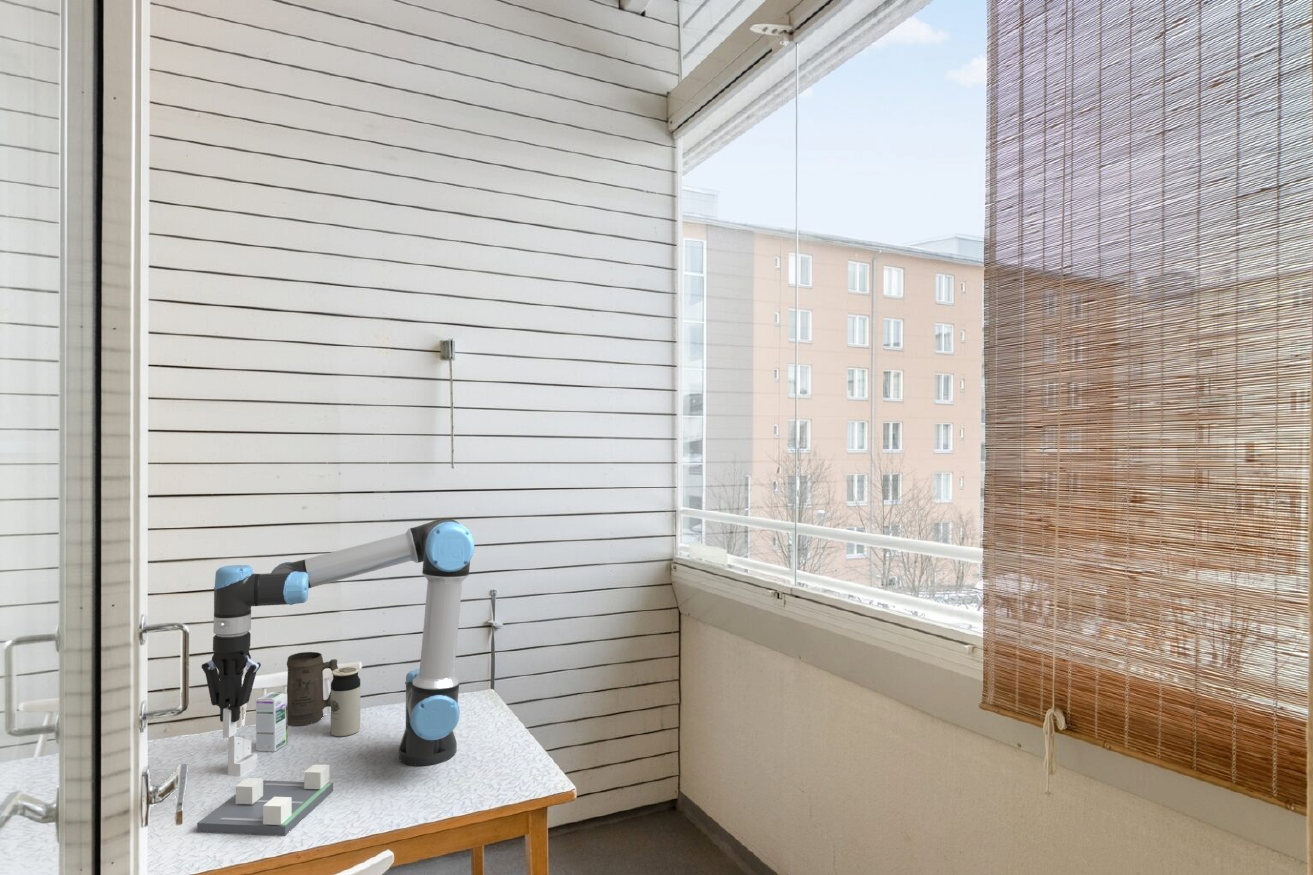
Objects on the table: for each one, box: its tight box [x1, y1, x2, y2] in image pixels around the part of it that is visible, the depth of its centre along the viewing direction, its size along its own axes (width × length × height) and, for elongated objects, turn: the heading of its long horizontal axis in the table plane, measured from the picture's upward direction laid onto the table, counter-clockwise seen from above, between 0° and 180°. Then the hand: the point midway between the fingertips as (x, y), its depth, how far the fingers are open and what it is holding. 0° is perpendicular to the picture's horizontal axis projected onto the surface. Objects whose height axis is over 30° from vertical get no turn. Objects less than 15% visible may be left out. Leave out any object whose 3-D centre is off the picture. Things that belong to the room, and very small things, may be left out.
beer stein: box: [286, 651, 339, 727], centre depth 221 cm, size 15×11×20 cm
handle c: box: [263, 797, 292, 825], centre depth 157 cm, size 4×4×4 cm
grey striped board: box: [196, 779, 334, 837], centre depth 166 cm, size 20×20×2 cm
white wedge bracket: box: [227, 735, 258, 777], centre depth 185 cm, size 4×10×9 cm, turn 168°
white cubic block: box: [235, 777, 264, 804], centre depth 166 cm, size 4×4×4 cm
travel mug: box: [330, 666, 361, 737], centre depth 211 cm, size 8×8×18 cm
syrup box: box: [255, 691, 289, 753], centre depth 200 cm, size 6×6×14 cm
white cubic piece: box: [303, 764, 330, 789], centre depth 173 cm, size 4×4×4 cm
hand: (229, 735), depth 166 cm, fingers closed
